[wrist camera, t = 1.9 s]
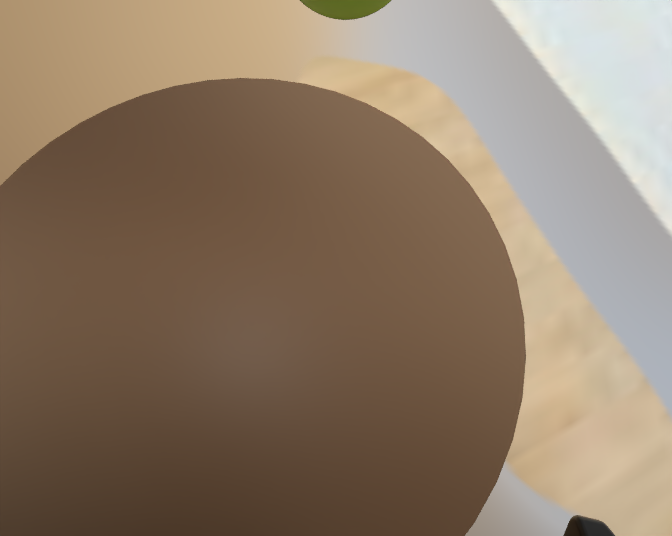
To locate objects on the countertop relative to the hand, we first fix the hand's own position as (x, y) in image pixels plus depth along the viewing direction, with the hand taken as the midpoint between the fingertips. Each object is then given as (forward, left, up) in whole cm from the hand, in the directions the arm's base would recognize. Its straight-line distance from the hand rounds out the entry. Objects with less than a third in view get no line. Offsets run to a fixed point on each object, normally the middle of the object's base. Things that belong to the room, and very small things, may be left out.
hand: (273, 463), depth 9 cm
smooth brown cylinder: (+1, 0, -9) cm, 9 cm away
